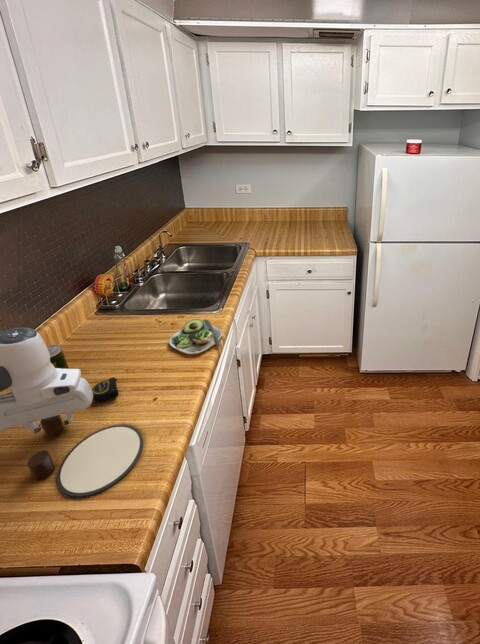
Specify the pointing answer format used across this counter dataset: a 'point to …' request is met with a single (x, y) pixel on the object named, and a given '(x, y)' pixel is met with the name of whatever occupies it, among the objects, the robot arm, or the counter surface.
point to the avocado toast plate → (196, 337)
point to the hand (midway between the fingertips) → (53, 426)
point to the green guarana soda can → (57, 357)
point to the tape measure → (105, 390)
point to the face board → (99, 461)
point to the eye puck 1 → (52, 426)
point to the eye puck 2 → (41, 465)
